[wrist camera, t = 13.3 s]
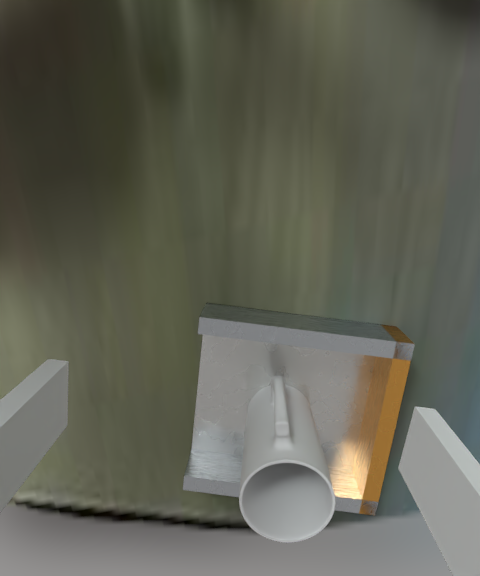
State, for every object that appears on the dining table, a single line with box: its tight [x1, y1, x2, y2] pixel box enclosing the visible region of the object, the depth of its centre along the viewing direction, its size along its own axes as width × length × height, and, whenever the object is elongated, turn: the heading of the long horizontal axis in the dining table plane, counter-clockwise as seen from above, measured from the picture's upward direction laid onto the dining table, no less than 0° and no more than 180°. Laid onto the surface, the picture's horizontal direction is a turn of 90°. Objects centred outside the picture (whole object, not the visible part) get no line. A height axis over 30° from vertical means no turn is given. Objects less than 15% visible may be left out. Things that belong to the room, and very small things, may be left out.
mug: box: [239, 376, 335, 543], centre depth 33 cm, size 10×7×12 cm, turn 4°
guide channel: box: [183, 303, 415, 516], centre depth 38 cm, size 18×17×4 cm
